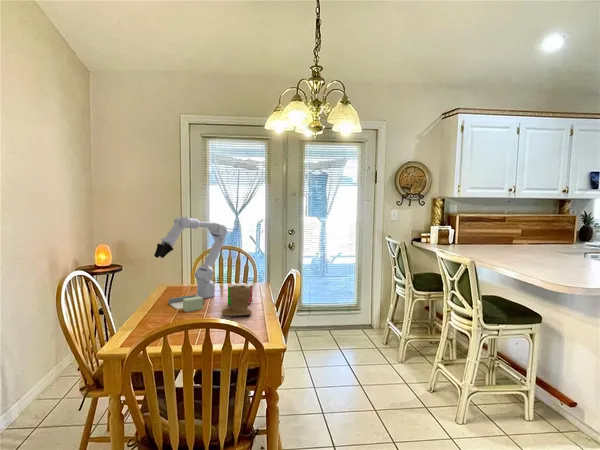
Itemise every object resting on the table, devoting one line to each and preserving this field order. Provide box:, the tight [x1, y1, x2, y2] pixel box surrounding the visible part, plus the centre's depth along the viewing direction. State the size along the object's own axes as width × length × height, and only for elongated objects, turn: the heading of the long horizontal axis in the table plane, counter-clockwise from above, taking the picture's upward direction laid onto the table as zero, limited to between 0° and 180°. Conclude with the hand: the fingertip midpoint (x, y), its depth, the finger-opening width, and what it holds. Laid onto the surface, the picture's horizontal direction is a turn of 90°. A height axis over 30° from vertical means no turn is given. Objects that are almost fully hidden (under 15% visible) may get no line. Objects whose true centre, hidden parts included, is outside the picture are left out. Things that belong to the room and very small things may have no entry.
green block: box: [182, 296, 204, 313], centre depth 204 cm, size 9×4×6 cm, turn 128°
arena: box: [168, 294, 205, 310], centre depth 212 cm, size 15×12×3 cm
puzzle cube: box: [227, 282, 253, 306], centre depth 217 cm, size 10×10×10 cm
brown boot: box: [221, 284, 253, 317], centre depth 197 cm, size 15×12×15 cm
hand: (158, 257), depth 205 cm, fingers open, 7 cm apart
